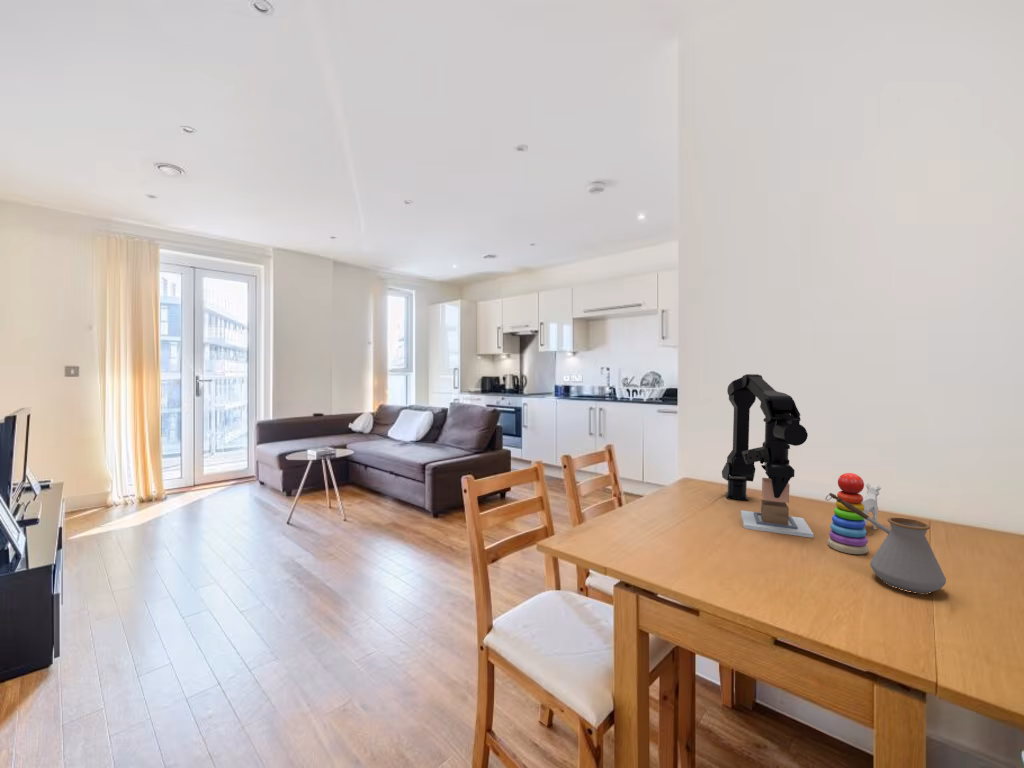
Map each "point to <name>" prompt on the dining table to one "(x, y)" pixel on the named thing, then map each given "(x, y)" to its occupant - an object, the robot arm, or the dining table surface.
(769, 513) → the walnut block
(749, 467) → the robot arm
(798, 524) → the board
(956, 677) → the dining table surface
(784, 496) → the terracotta block
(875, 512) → the cat figurine
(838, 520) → the stacking toy
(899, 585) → the coffee pot
